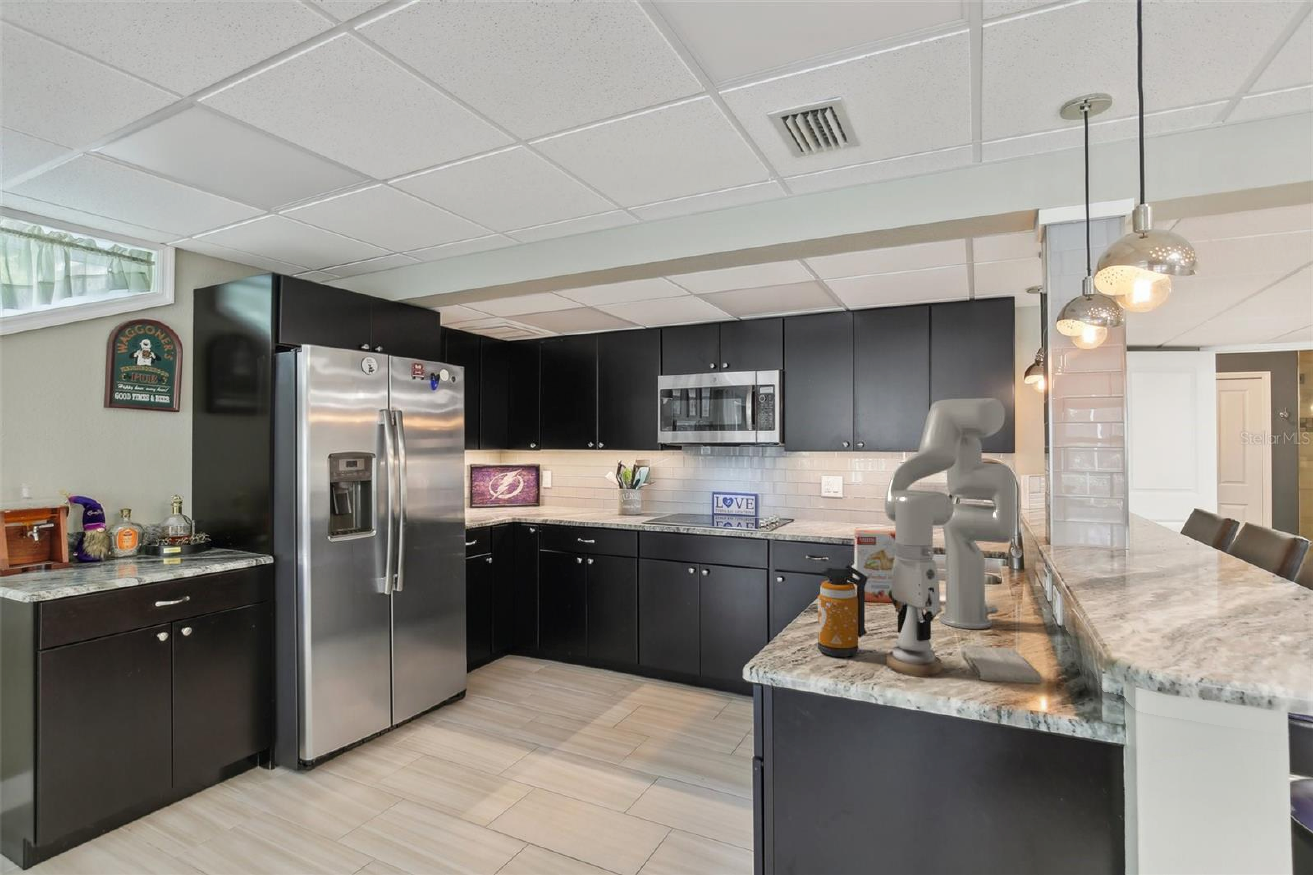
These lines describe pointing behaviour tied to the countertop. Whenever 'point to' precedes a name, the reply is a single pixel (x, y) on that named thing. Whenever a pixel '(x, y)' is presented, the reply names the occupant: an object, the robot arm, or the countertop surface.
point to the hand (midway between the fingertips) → (913, 635)
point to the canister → (841, 611)
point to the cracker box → (875, 562)
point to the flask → (911, 632)
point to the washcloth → (999, 665)
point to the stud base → (914, 668)
